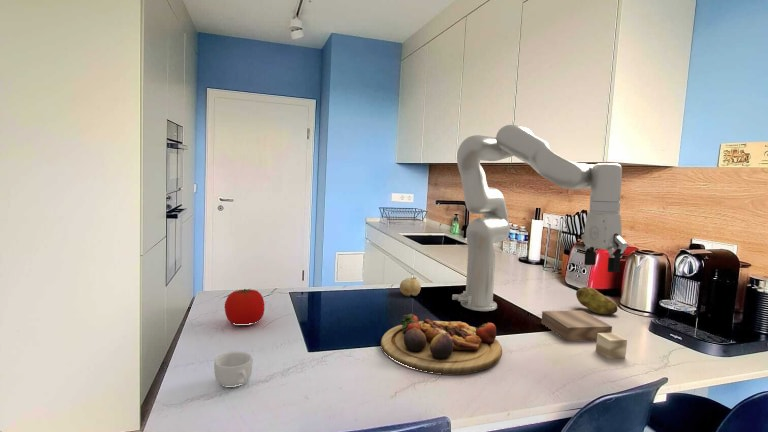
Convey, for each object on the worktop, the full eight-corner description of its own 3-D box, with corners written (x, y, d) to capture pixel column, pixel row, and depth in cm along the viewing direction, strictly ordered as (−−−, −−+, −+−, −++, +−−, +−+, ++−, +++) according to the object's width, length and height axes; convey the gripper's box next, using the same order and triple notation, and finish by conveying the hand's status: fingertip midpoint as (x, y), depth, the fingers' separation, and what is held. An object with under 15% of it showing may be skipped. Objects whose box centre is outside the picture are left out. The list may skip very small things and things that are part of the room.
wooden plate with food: (498, 333, 125) (499, 306, 125) (506, 384, 94) (508, 349, 93) (392, 323, 132) (393, 298, 131) (368, 368, 101) (368, 335, 100)
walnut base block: (566, 341, 120) (567, 327, 120) (541, 323, 134) (542, 311, 134) (610, 339, 123) (612, 326, 122) (581, 322, 136) (582, 310, 136)
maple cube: (608, 358, 110) (609, 340, 109) (595, 350, 115) (597, 333, 114) (625, 358, 111) (627, 339, 110) (612, 350, 116) (613, 332, 115)
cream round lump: (416, 299, 155) (417, 280, 154) (396, 296, 158) (397, 278, 157) (422, 293, 162) (423, 275, 162) (403, 291, 165) (403, 273, 164)
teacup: (208, 381, 91) (208, 357, 90) (243, 371, 96) (243, 348, 96) (227, 401, 84) (227, 375, 83) (263, 388, 89) (263, 364, 88)
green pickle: (606, 319, 141) (608, 295, 140) (571, 307, 151) (573, 286, 150) (619, 315, 145) (621, 292, 144) (584, 304, 156) (586, 283, 155)
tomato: (261, 315, 133) (261, 282, 131) (268, 328, 122) (268, 293, 120) (223, 319, 128) (222, 285, 127) (226, 334, 117) (226, 297, 116)
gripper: (573, 206, 125) (570, 262, 126) (614, 210, 108) (611, 275, 110) (595, 206, 126) (592, 262, 128) (640, 210, 109) (636, 274, 111)
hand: (601, 268), depth 119 cm, fingers open, 9 cm apart
